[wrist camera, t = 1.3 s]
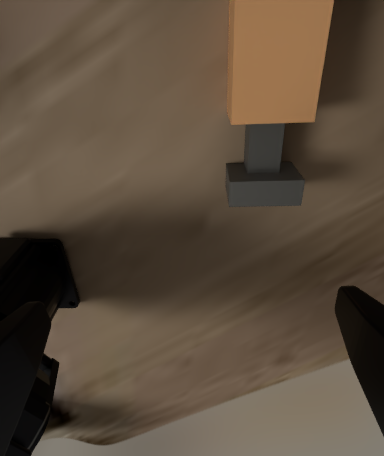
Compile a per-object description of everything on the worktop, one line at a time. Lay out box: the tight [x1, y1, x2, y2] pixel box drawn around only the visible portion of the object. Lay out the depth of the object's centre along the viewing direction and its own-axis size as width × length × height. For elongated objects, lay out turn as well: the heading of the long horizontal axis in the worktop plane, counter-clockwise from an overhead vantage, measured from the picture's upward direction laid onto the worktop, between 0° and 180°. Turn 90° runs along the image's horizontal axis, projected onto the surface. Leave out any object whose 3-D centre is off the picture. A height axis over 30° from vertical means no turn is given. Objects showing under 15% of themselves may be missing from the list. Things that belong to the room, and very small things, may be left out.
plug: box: [226, 0, 334, 207], centre depth 16 cm, size 10×4×3 cm, turn 2°
